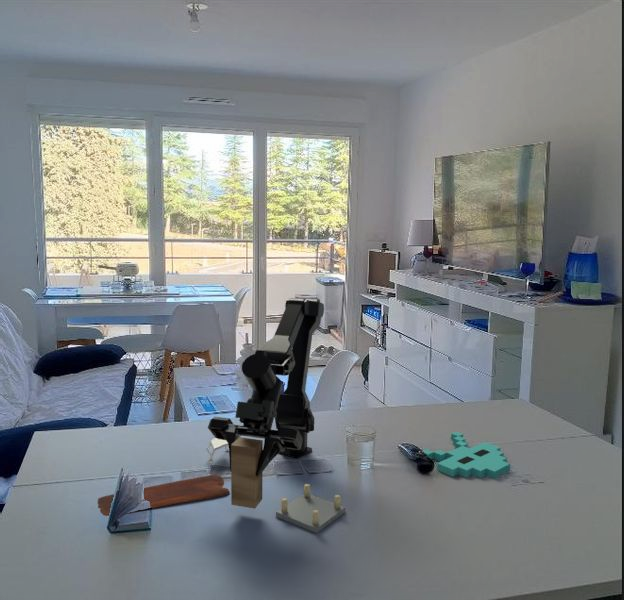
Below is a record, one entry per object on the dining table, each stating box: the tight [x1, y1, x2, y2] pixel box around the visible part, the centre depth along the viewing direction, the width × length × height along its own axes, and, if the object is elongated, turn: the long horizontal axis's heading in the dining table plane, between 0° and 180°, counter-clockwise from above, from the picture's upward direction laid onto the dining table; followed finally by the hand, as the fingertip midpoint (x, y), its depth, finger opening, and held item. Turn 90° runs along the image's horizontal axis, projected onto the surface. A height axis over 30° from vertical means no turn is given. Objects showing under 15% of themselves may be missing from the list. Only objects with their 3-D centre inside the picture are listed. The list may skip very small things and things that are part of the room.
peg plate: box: [275, 483, 346, 534], centre depth 121 cm, size 10×10×4 cm
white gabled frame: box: [205, 437, 229, 466], centre depth 147 cm, size 12×8×5 cm
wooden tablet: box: [97, 474, 231, 517], centre depth 128 cm, size 27×10×2 cm, turn 113°
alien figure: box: [422, 431, 511, 480], centre depth 148 cm, size 20×2×20 cm
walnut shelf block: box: [230, 437, 264, 510], centre depth 119 cm, size 4×5×12 cm
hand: (244, 473), depth 118 cm, fingers closed on walnut shelf block, 5 cm apart
